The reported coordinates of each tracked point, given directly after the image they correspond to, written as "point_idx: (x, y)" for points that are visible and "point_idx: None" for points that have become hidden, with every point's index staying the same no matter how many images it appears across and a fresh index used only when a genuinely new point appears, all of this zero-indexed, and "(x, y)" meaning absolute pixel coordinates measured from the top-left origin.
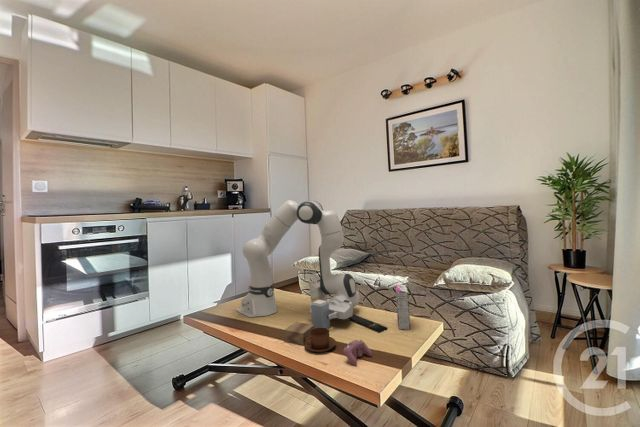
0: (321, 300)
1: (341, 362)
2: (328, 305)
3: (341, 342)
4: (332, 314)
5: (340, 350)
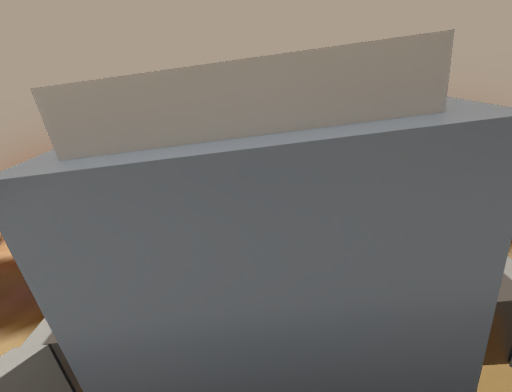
0: (276, 54)
1: None
2: (39, 259)
3: (5, 331)
4: (6, 361)
5: (21, 273)
